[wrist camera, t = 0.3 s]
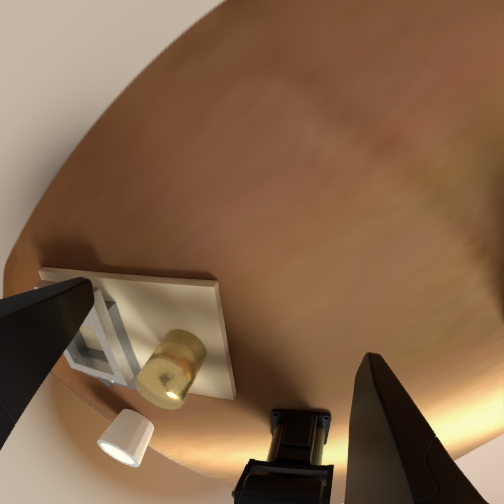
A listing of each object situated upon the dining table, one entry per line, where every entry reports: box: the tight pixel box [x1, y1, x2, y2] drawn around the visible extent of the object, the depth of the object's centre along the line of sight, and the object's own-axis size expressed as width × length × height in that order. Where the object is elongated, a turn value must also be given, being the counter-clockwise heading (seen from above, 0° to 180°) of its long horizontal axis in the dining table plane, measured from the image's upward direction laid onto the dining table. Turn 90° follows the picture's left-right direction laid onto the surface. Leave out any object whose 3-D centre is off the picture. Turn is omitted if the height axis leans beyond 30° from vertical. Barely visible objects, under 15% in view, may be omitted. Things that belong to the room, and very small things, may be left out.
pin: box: [135, 329, 207, 410], centre depth 26 cm, size 4×4×6 cm
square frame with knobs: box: [34, 280, 141, 390], centre depth 30 cm, size 14×9×4 cm, turn 5°
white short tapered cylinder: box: [97, 409, 154, 467], centre depth 37 cm, size 7×7×7 cm
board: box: [38, 267, 236, 400], centre depth 31 cm, size 14×22×1 cm, turn 95°
